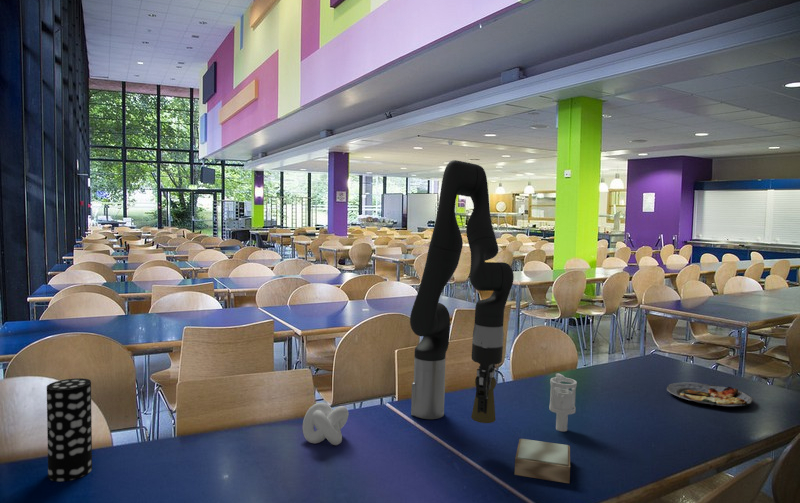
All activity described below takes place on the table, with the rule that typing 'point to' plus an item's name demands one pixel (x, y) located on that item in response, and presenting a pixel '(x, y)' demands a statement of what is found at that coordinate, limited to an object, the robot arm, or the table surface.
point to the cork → (490, 413)
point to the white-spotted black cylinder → (69, 429)
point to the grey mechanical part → (562, 400)
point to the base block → (543, 460)
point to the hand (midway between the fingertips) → (483, 409)
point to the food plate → (710, 394)
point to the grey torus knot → (324, 423)
